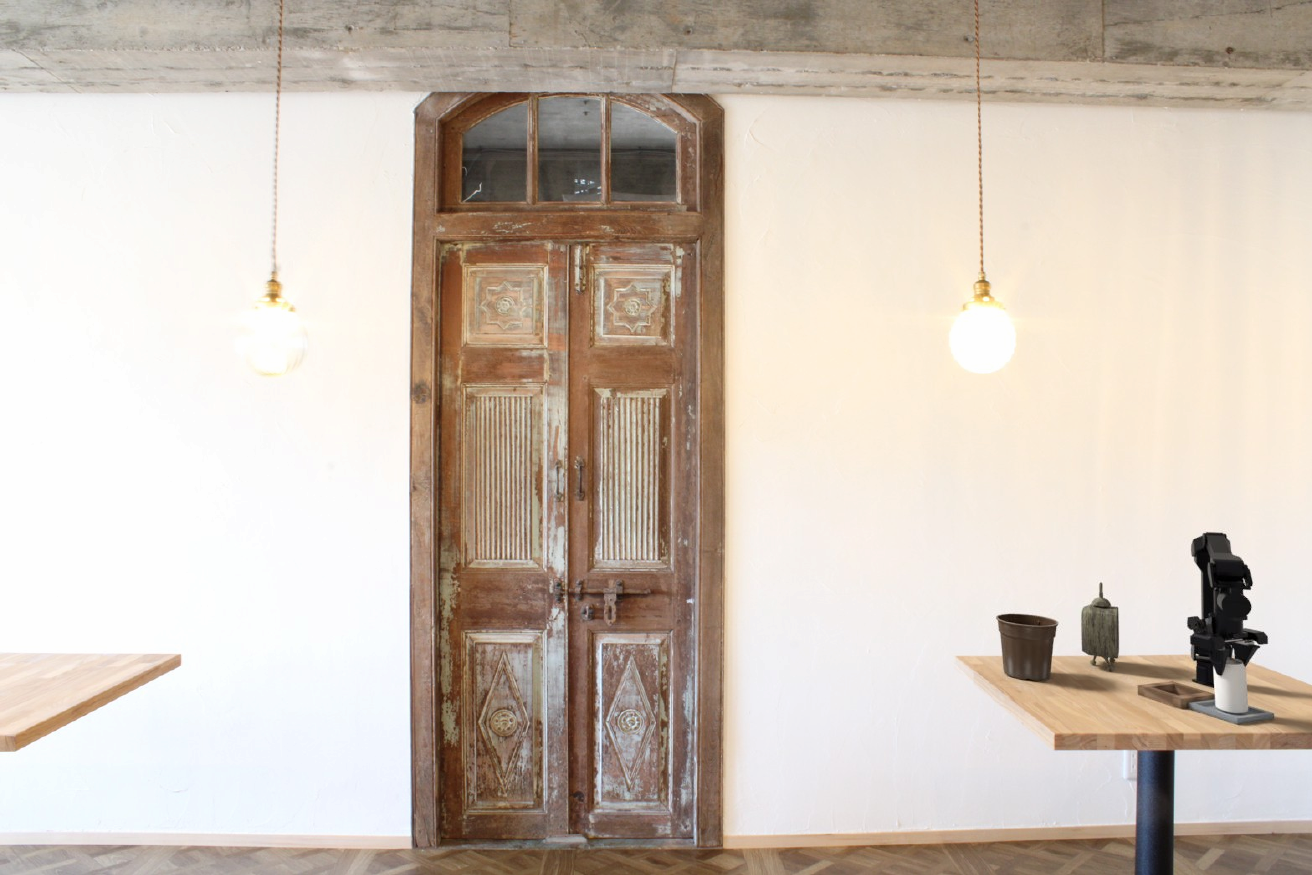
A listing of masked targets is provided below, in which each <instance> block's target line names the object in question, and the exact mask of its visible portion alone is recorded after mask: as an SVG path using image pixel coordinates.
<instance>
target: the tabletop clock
mask: <svg viewBox="0 0 1312 875" xmlns="http://www.w3.org/2000/svg"><path fill="white" fill-rule="evenodd" d="M1098 587H1099V588H1098V589H1099V590H1098V591H1099V592H1098V597H1096V598H1094V599H1093V600H1092V601H1091V604H1088V605H1085V606H1083V607H1082V609H1081V615H1080V616H1081V617H1080V618H1081V619H1080V624H1081V626H1080V627H1081V628H1080V629H1081V630H1080V632H1081V633H1080V634H1081V652H1083V653H1085V654H1087V655H1088V656H1091V657H1092V659H1091V660H1090V662H1089V663H1090V664H1091V666H1096V665H1097V661H1096V659H1097V657H1098V658H1099V657H1100V658H1102V659H1103V660H1104V661H1105V662H1106V665H1107V667H1106V668H1107V670H1108V672H1113V671H1114V670H1115V668H1114V667H1113V666H1112V665H1111V664H1115V663H1116V659H1118V658H1119V652H1120V622H1119V619H1120V618H1119V617H1120V616H1119V615H1120V613H1119V607H1118V606H1113V605H1112V604H1111V601H1110V600H1109V599H1108V598H1105V597H1104V593H1103V591H1104V590H1103V582H1099V585H1098ZM1110 663H1111V664H1110Z"/></svg>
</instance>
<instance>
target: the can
mask: <svg viewBox="0 0 1312 875" xmlns="http://www.w3.org/2000/svg"><path fill="white" fill-rule="evenodd" d="M1246 668H1247V667H1245V666H1244V665H1243V661H1242V660H1239V659H1235V657H1232V658H1227V662H1226V665H1225V669H1224V672H1223V675H1222V676H1220V675H1217V674H1216V671H1215V669H1214V666H1213V671H1214V687H1213V688H1214V694H1215V705H1216V707H1217V708H1218V709H1219V710H1221V711H1224V712H1228V713H1235V714H1242V713H1246V712H1247V711H1248V705H1249V701H1248V699H1249V698H1248V682H1247V681H1248V680H1247V670H1246Z"/></svg>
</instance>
